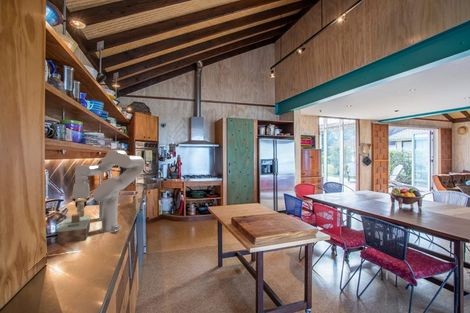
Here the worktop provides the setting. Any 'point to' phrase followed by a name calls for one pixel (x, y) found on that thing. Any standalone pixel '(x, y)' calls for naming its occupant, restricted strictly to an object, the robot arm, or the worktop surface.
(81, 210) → the block
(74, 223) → the lid
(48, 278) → the worktop surface
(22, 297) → the worktop surface
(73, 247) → the worktop surface
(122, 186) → the robot arm
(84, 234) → the brown open box
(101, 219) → the coffee box
